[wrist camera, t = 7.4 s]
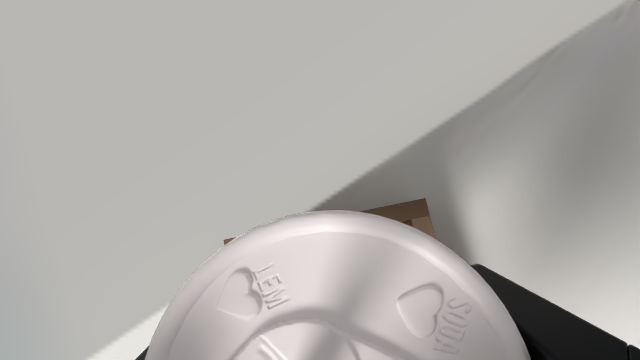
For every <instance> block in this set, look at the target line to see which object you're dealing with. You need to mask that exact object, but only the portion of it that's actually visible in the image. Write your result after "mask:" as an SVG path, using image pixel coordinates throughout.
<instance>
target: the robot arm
mask: <svg viewBox="0 0 640 360" xmlns="http://www.w3.org/2000/svg"><path fill="white" fill-rule="evenodd" d="M470 266H471V267H472V268H473V269H474V270H475V271H476V272H477V273H478V274H479V275H480V276H481V277H482V278H483V279H484V280H485V281H486V283H487V284H488V285H489V286H490V287H491V288H492V289H493V291H494V292H495V294H496V295H497V296H498V298H499V299H500V300H501V302H502V303H503V304H504V306H505V308H506V309H507V311H508V313H509V314H510V316H511V317H512V319H513V321H514V322H515V324H516V326H517V328H518V330H519V332H520V335H521V337H522V339H523V341H524V343H525V345H526V348H527V351H528V353H529V356H530V359H531V360H640V349H639V348H637V347H635V346H633V345H627V343H626V342H624V341H622V340H620V339H619V338H617V337H615V336H613V335H611V334H609V333H607V332H606V331H604V330H602V329H600V328H598V327H596V326H594V325H592V324H591V323H589V322H587V321H585V320H583V319H581V318H579V317H578V316H576V315H574V314H572V313H570V312H568V311H566V310H564V309H563V308H561V307H559V306H557V305H555V304H553V303H551V302H550V301H548V300H546V299H544V298H542V297H540V296H538V295H536V294H535V293H533V292H531V291H529V290H527V289H525V288H523V287H522V286H520V285H518V284H516V283H514V282H512V281H510V280H509V279H507V278H505V277H503V276H501V275H499V274H497V273H495V272H494V271H492V270H490V269H488V268H486V267H484V266H482V265H480V264H475V265H470ZM149 346H150V345H149ZM149 346H148V347H147V348H146V349H145V350H144V351H143V352H142V353H141V354H140V355H139V356H138V357H137V358H136V359H135V360H145V357H146V354H147V351H148V348H149Z"/></svg>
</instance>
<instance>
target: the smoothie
mask: <svg viewBox="0 0 640 360" xmlns="http://www.w3.org/2000/svg"><path fill="white" fill-rule="evenodd" d="M145 360H531V359H530V356H529V353H528V351H527V348H526V345H525V343H524V341H523V339H522V337H521V335H520V332H519V330H518V328H517V326H516V324H515V322H514V321H513V319H512V317H511V316H510V314H509V313H508V311H507V309H506V308H505V306H504V304H503V303H502V302H501V300H500V299H499V298H498V296H497V295H496V294H495V292H494V291H493V289H492V288H491V287H490V286H489V285H488V284H487V283H486V281H485V280H484V279H483V278H482V277H481V276H480V275H479V274H478V273H477V272H476V271H475V270H474V269H473V268H472V267H471V266H470V265H469V264H468V263H467V262H466V261H465V260H464V259H462V258H461V257H460V256H459V255H457V254H456V253H455V252H453V251H452V250H451V249H450V248H448V247H447V246H445V245H444V244H442V243H441V242H439V241H437V240H436V239H434V238H433V237H431V236H429V235H427V234H425V233H423V232H421V231H419V230H417V229H416V228H413V227H411V226H408V225H406V224H403V223H401V222H398V221H396V220H392V219H389V218H385V217H382V216H379V215H374V214H368V213H363V212H355V211H344V210H322V211H313V212H304V213H299V214H294V215H290V216H286V217H283V218H279V219H276V220H273V221H270V222H267V223H265V224H263V225H260V226H258V227H255V228H253V229H251V230H249V231H247V232H245V233H244V234H242V235H240V236H238V237H236V238H235V239H233V240H232V241H230V242H229V243H227V244H226V245H224V246H223V247H221V248H220V249H219V250H218V251H216V252H215V253H214V254H213V255H211V256H210V257H209V258H208V259H207V260H206V261H205V262H204V263H203V264H202V265H201V266H200V267H199V268H197V269H196V270H195V271H194V272H193V274H192V275H191V276H190V277H189V278H188V280H187V281H186V282H185V283H184V284H183V285H182V287H181V288H180V289H179V291H178V292H177V294H176V295H175V297H174V298H173V299H172V301H171V302H170V304H169V306H168V308H167V309H166V311H165V313H164V315H163V316H162V318H161V320H160V322H159V324H158V326H157V329H156V331H155V333H154V335H153V337H152V340H151V343H150V346H149V348H148V351H147V354H146V357H145Z"/></svg>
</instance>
